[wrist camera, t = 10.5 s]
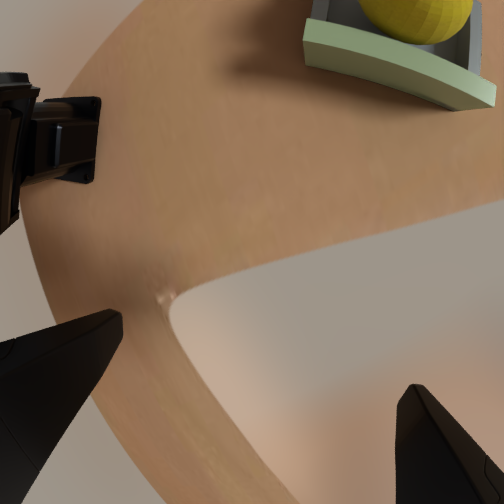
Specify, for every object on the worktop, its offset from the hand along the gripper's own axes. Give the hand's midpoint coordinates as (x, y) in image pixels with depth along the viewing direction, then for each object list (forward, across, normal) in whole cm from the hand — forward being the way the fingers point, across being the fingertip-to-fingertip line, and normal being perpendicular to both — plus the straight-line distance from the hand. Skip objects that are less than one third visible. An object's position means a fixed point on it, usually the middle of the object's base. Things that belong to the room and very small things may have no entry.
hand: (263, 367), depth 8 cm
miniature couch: (+12, -3, -14) cm, 19 cm away
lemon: (+11, -3, -15) cm, 19 cm away
